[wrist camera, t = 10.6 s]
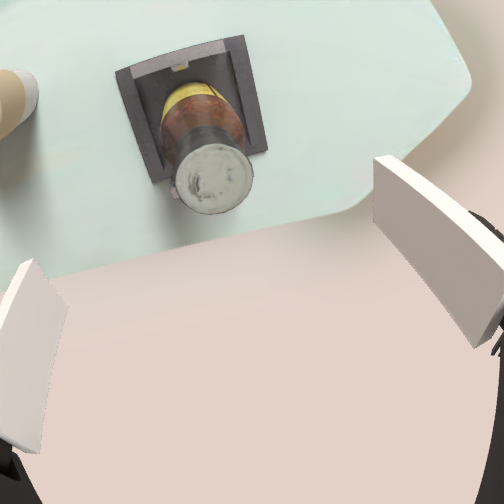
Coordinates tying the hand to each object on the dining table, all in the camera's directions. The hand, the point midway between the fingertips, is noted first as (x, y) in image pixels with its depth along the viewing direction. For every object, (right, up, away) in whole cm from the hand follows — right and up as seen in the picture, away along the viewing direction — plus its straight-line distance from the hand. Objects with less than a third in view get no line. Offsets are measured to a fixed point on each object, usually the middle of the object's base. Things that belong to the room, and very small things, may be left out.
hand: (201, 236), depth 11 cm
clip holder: (-5, +15, +21) cm, 26 cm away
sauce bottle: (-4, +15, +20) cm, 25 cm away
